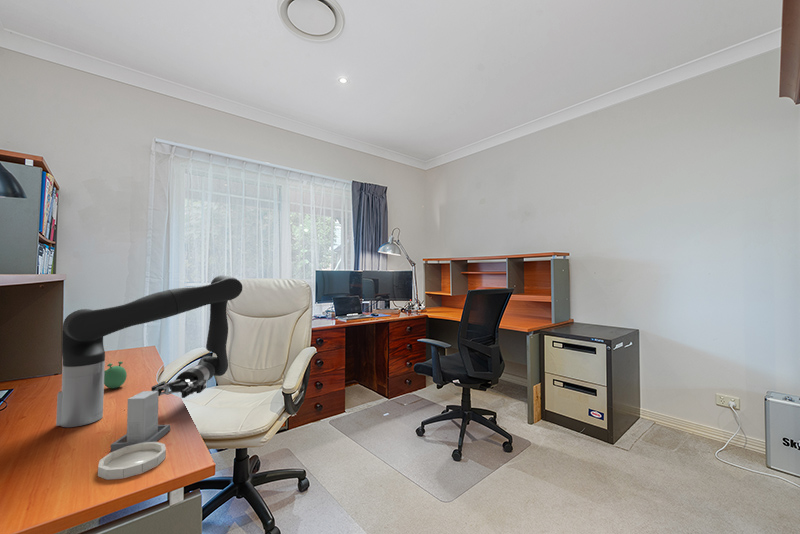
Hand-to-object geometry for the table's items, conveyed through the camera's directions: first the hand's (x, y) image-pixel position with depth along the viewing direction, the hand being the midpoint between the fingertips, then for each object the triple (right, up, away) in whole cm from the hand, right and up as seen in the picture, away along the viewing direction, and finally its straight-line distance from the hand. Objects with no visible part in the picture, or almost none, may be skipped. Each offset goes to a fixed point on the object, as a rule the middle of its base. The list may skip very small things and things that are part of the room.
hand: (167, 395), depth 100 cm
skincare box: (+1, -8, -12) cm, 14 cm away
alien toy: (-42, -9, +30) cm, 52 cm away
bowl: (+8, -7, -23) cm, 25 cm away
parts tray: (+1, -7, -12) cm, 14 cm away
